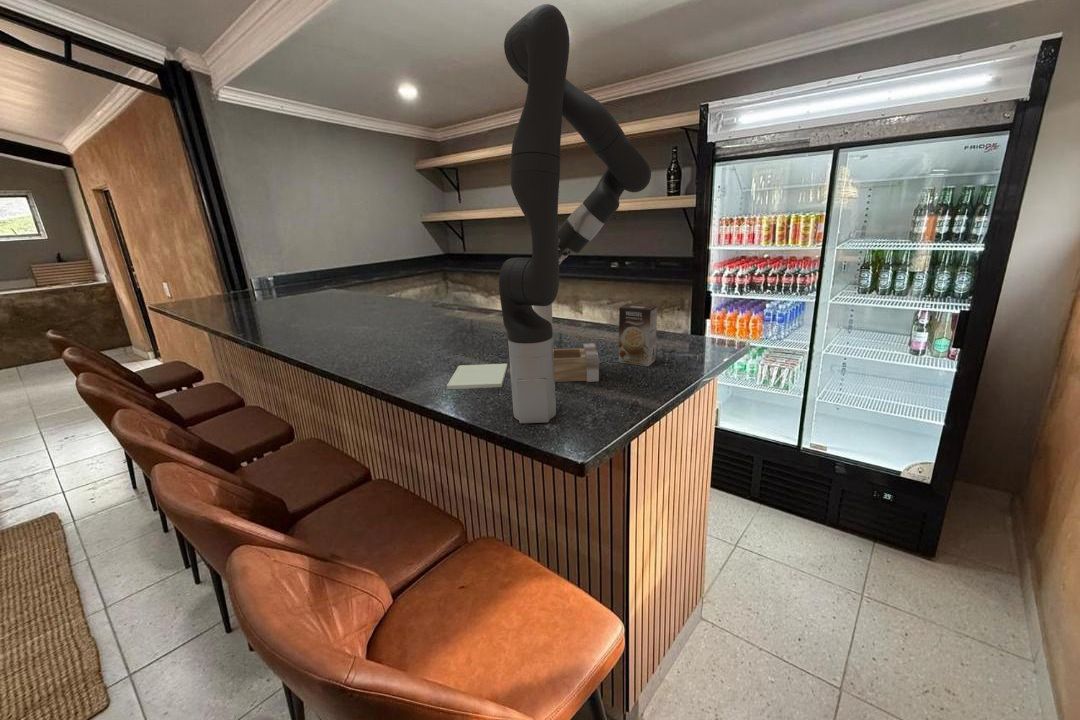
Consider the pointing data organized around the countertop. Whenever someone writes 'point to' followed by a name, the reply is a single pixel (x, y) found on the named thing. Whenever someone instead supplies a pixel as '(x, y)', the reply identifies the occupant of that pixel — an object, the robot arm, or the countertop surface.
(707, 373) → the countertop surface
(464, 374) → the sage board
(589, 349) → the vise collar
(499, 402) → the countertop surface
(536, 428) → the countertop surface
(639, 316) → the coffee box
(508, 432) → the countertop surface
